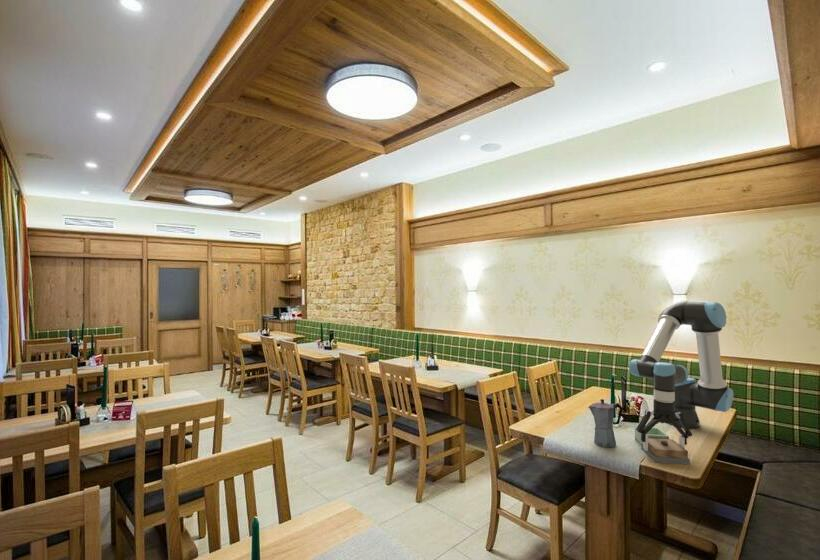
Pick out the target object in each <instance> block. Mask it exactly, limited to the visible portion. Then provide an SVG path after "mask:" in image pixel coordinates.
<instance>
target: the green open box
mask: <svg viewBox="0 0 820 560" xmlns="http://www.w3.org/2000/svg"><path fill="white" fill-rule="evenodd" d="M637 427H638V426H634V440H635V441H636V443H638V444H639V445H640V446H641V444H643V442H642V441H641V433H639V432H638V431H637V430H636V428H637ZM647 435H648V438H654V439H670V436H669V435H668V434H667V433H666V432H665V431H663V430H662V429H661V428H659V427H653V428H652V429H651V430H650V431H649V432H648V433H647Z"/></svg>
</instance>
